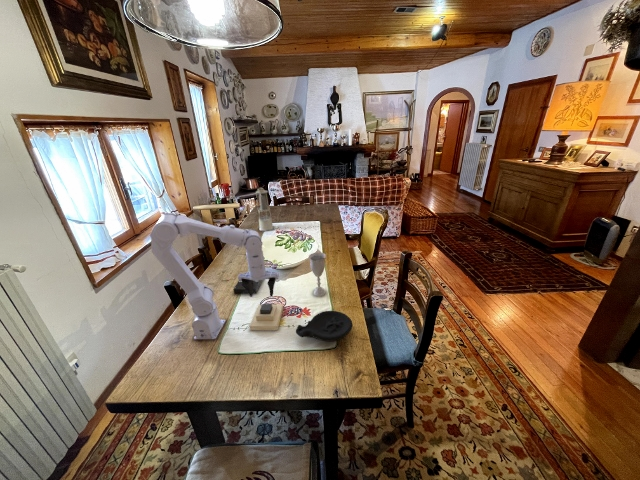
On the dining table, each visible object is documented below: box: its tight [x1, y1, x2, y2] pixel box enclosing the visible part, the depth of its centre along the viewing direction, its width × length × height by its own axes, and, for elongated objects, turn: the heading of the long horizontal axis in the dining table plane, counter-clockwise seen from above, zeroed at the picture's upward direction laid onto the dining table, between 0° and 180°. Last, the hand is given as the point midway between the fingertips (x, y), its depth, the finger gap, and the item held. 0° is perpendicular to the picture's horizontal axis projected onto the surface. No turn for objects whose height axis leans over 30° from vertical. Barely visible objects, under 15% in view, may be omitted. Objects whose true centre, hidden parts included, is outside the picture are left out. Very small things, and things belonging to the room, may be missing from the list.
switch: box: [260, 303, 272, 314], centre depth 95 cm, size 4×4×2 cm
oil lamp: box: [295, 310, 353, 343], centre depth 87 cm, size 15×20×5 cm
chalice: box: [308, 251, 327, 297], centre depth 106 cm, size 7×7×18 cm
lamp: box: [255, 187, 274, 232], centre depth 178 cm, size 10×13×30 cm
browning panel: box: [233, 280, 263, 295], centre depth 117 cm, size 12×10×3 cm
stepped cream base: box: [249, 303, 284, 331], centre depth 96 cm, size 12×10×4 cm
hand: (261, 295), depth 96 cm, fingers open, 7 cm apart
